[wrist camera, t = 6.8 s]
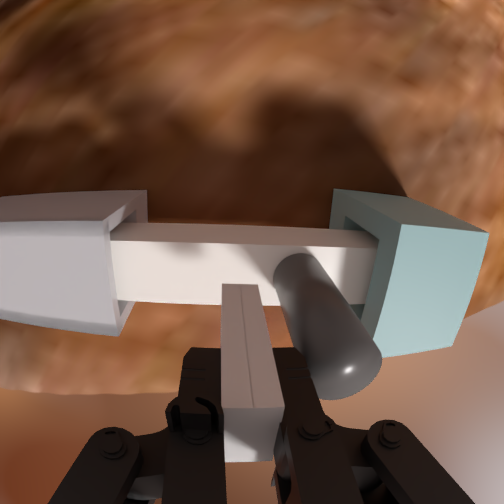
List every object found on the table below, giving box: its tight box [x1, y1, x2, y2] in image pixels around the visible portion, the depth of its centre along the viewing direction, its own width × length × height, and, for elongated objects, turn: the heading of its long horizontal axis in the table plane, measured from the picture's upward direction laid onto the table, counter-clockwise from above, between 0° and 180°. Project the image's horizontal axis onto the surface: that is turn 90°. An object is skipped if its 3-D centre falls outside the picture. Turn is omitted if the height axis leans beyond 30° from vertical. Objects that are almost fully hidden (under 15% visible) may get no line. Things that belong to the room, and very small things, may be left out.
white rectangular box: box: [0, 190, 148, 336], centre depth 18 cm, size 7×15×9 cm, turn 87°
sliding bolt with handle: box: [109, 223, 382, 400], centre depth 14 cm, size 4×24×11 cm, turn 86°
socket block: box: [329, 189, 489, 358], centre depth 19 cm, size 8×7×10 cm
